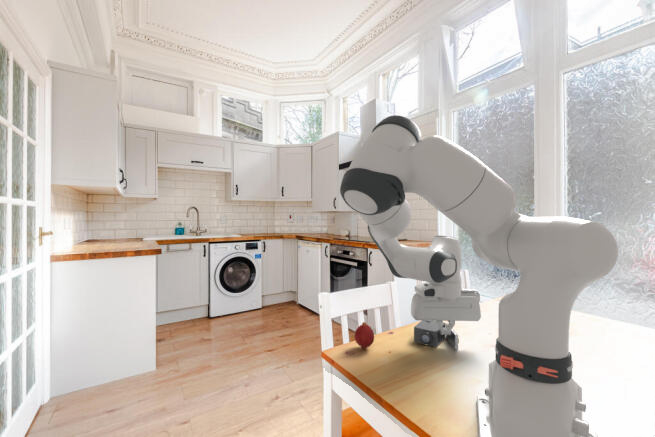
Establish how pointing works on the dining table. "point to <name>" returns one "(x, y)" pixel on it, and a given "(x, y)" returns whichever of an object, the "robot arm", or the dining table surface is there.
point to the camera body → (428, 333)
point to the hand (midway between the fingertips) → (445, 334)
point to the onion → (364, 335)
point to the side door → (453, 338)
